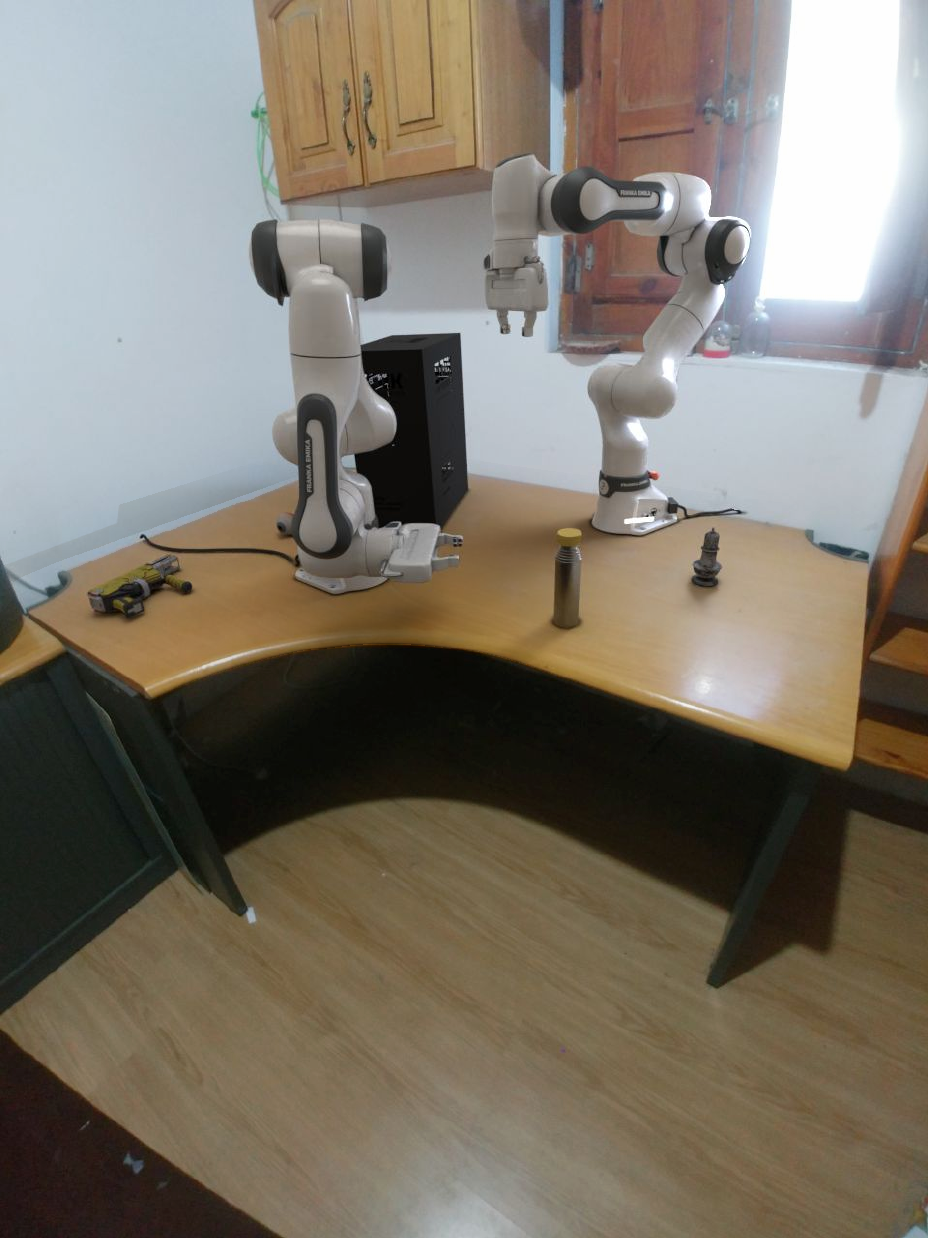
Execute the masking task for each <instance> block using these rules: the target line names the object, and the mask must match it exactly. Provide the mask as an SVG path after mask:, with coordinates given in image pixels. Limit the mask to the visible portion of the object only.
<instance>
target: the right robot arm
mask: <svg viewBox="0 0 928 1238" xmlns="http://www.w3.org/2000/svg"><path fill="white" fill-rule="evenodd" d="M711 200H712V194H711V189H710V186H709V185H708V183H707V182H706V181H705V180H704V179H703V178H701V177H698V176H695V175H692V174H689V173H682V172H675V171H673V172H672V171H660V172H659V171H658V172H651V173H646V174H641V175H640V176H637V177H635V178H633V179H632V180H624V179H623V180H621V179H613V178H610V177H609V176H607V175H606V174H604V173H603V172H601V171H600V170H599V169H596V168H594V167H592V166H585V165H584V166H579V167H577V168H575V169H573V170H569V171H568V172H566V173H565V172H564V173H562V174H559V175H558V174H556V173H554V172H552V171H551V170H549V169H547V168H546V167H545V166H543V165H542V163H540V161H539V160H538V159H537V157H536V156H535V153H531V152H525V153H520V154H517V155H513V156H509V157H507V158H504V159H501V160H500V161H499V162H497V164H496V165H495V167H494V170H493V174H492V183H491V216H492V220H493V227H494V228H493V235H492V248H491V249H490V250H489V252H488V253H487V254H486V255H485V256H484V257H483V258H482V269H483V271H485V273H484V297H485V304H486V306H487V307H486V308H487V309H488V310H492V311H496V318H497V321H498V323H499V324H498V325H499V333H500V335H510V334H511V324H509V318H508V316H509V312H523V318H524V323H523V326H522V327H521V336H522V337H523V338H531V337H533V335H534V326H535V324H536V320H537V318H538V316H537V315H538V314H537V313H540V312H546V311H547V310H548V308H549V307H548V306H549V303H550V297H549V296H550V295H549V279H548V278H549V277H548V273H547V269H546V268H545V263H544V262H543V260H542V258H541V256H539V236H542V237H546V238H547V237H549V238H550V237H557V236H558V237H560V236H566V235H567V236H568V235H585V234H586V235H587V234H589V233H592V232H594V231H595V230H597V229H598V228H600V227H602V226H603V225H605V224H606V223H608V222H623V224H624V226H625V227H626V230H628V232H629V233H631V234H634V235H639V236H645V237H658V242H657V248H656V259H657V264H658V267H659V269H660V270H661V271H662V272H663V273H664V274H666V275H669V276H672V277H682V279H681V283H680V285H679V287H678V289H677V291H676V292H675V294H674V295H673V296H672V297H671V298H670V300H669V301H668V302H667V303H666V305H665V306H664V307H663V308H662V310H661V311H660V313H659V314H658V315H657V316H656V318H655V319H654V320H653V322H652V323H651V324H650V326H649V327H647V330H646V331H645V332H644V335H643V337H642V345H643V350H644V351H643V353H642V356H641V358H640V359H639V360H638V361H637V363H635V364H625V363H619V362H615V363H614V362H613V363H607V364H604V365H601V366H597V368H595V369H594V371H593V372H591V374H590V376H589V378H588V380H587V395H588V398H589V399H590V401H591V402H592V404H593V406H594V408H595V411H596V414H597V417H598V418H597V419H598V421H599V427H600V432H601V440H602V447H601V448H602V449H601V450H602V451H601V468H600V470H599V474H598V492H599V493H598V498H597V502H596V507H595V511H594V514H593V517H592V520H591V525H592V526H593V527H594V528H595V529H597V530H599V531H601V532H605V533H611V534H623V535H625V534H626V535H632V536H633V535H634V536H645V535H646V534H650V533H652V532H654V531H657V530H660V529H662V528H665V527H668V526H670V525H672V524H675V523H677V522H678V516H677V515H676V514H678V509H681V510H682V511H683V515H684V517H685V518H687V519H693V518H696V517H698V516H704V515H705V516H706V515H720V514H721V515H722V514H725V513H729V512H736V513H738V514H743V511H742V510H740V509H739V510H734V509H732V508H733V507H731V508H726V509H723V510H712V511H701V512H697V513H693V514H688V510H687V508H686V507H685V506H683V505H682V504H679V502H677V501H676V499H675V498H673V497H672V496H669V497H667V496H666V495H665V494H664V493H663V492H661V491H660V490H659V489H658V488H656V487H655V486H654V485H652V483H651V480H653V481H658V479H659V478H660V473H659V472H657V471H654V470H651V471H649V470H648V469H647V466H648V458H649V457H648V455H649V446H650V441H649V437H648V435H647V434H646V432H645V431H644V429H643V427H642V424H641V420H656V419H662V418H664V417H666V416H667V415H669V413H670V412H671V411H672V410H673V408H674V406H675V405H676V402H677V399H678V395H679V389H678V388H679V387H678V383H677V377H678V373H679V371H680V368H681V366H682V365H683V363H684V361H685V359H686V358H687V357H688V355H689V354H690V353H691V352H692V350H693V348H694V347H695V346H696V345H697V343H698V342H699V340H701V338H702V337H703V336H704V335H705V333H706V331H707V330H708V328H709V327H710V325H711V324H712V322H713V321H714V319H715V318H716V316H717V315H718V313H719V311H720V309H721V307H722V305H723V303H724V300H725V288H724V285H725V284H727V283H729V282H730V281H732V280H733V279H734V278H735V275H736V274H737V271H738V270H739V269H740V268H741V267H742V265H743V263H744V262H745V260H746V258H747V256H748V254H749V252H750V249H751V243H752V231H751V228H750V225H749V224H748V223H747V222H746V221H745V220H743V219H741V218H738V217H736V216H724V217H710V215H709V210H710V207H711Z"/></svg>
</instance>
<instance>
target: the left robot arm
mask: <svg viewBox="0 0 928 1238" xmlns="http://www.w3.org/2000/svg"><path fill="white" fill-rule="evenodd" d="M248 260H249V264H250V269H251V270H252V273H253V276H254V278H255V281H256V283H257V285H258V287H260V289H262V291H263V292H264V293H265V294H266V295H267V296H269V297H271V298H273V299H275V300H276V301H277V304H278V305H279V306H280V307H284V302H285V298H289V302H288V323H287V324H288V325H287V326H288V346H289V347H288V348H289V349H288V350H289V359H290V367H291V377H292V385H293V387H292V388H293V394H294V395H293V396H294V403H295V404H294V405H295V407H293V408H290V409H287V410H285V411H283V412H280V413H278V414H277V415H276V417H275V419H274V421H273V423H272V429H271V436H272V442H273V444H274V446H275V449H276V450H277V452H278V454H279V455H280V456H281V457H282V458H283V459H284V460H286V461H287V462H288V463H291V464H292V465H295V466H296V467H297V470H298V471H297V475H298V501H297V505H296V508H295V511H294V513H293V514H294V516H293V518H292V522H291V532H292V534H291V536H292V539H293V540H294V542H295V545H296V550H297V551H296V552H297V554H296V555H295V556H294V560H293V559H292V558H291V557H290V556H289V555H288V554H286V553H284V552H282V551H278V550H273V549H268V548H267V549H266V548H265V549H264V548H253V547H223V548H222V547H221V548H220V547H217V548H181V547H172V546H171V547H169V546H163V545H160V544H157V543H155V542H152V541H151V540H150V539H149V538H148V537H147V536H146V534H144V533H141V534H140V536H139V539H141V540H145V541H146V543H147V544H148V545H149V546H152V547H154V548H157V549H161V550H167V551H171V552H172V551H173V552H184V553H185V552H187V553H188V552H189V553H190V552H191V553H194V552H195V553H205V552H206V553H210V552H211V553H212V552H256V553H268V554H273V555H274V554H275V555H278V556H282V557H284V558H285V559H286V560H287V561H289V562H290V563H294V562H295V563H294V566H295V567H299V566H300V565H301V566H300V567H299V568H298V569H297V570H296V572H295V573H294V578H295V579H296V580H298V581H300V582H302V583H305V584H307V585H310V586H313V587H315V588H316V589H319V590H322V591H323V592H324V591H325V592H327V593H329V594H332V595H339V594H343V593H347V592H353V591H363V590H366V589H370V588H374V587H376V586H378V585H380V584H383V583H384V582H386V581H387V580H388V579H390V580H391V581H393V582H395V583H404V584H405V583H408V584H425V583H428V582H431V580H432V577H433V573H434V572H441V571H443V570H446V569H449V568H458V567H459V566H460V555H459V554H449V555H448V556H444V557H439V556H438V554H439V551H440V547H445V546H453V548H461V547H463V544H464V536H463V535H461V534H460V535H459V534H458V535H457V534H456V535H453V534H449V533H446V532H441V529H440V526H439V525H436V524H431V523H409V524H404V525H401V522H391V523H389V524H388V525H386V526H385V527H383V528H379V524H378V518H377V515H376V514H375V510H374V502H373V494H372V487H371V485H370V483H369V481H368V480H367V479H366V478H365V477H364V476H363V475H361V474H359V473H357V472H356V471H353V470H350V469H345V468H344V465H343V462H342V458H344V457H347V456H354V454H358V453H363V452H368V451H372V450H375V449H377V448H380V447H382V446H384V445H386V444H388V443H390V442H391V441H392V440H393V438H394V436H395V433H396V427H397V421H396V416H395V413H394V411H393V409H392V407H391V406H390V404H389V403H388V402H387V401H386V400H385V399H383V398H382V397H380V396H379V395H378V394H376V393H375V392H374V391H373V389H372V388H371V387H370V385H369V383H368V382H367V379H366V374H364V370H363V365H362V355H361V345H362V344H361V327H360V312H359V304H358V299H361V298H362V299H363V302H368V301H369V300H373V299H376V298H380V297H381V296H382V295H383V294H384V293H385V292H386V291H387V290H388V285H389V283H390V280H391V278H392V274H393V256H392V252H391V248H390V246H389V243H388V241H387V236H386V234H385V233H384V232H383V231H382V229H381V228H380V227H377V226H375V225H372V224H369V223H365V222H361V224H358V223H357V224H356V223H352V222H347V221H342V220H335V219H327V218H326V219H325V218H319V219H293V220H282V221H278V219H277V218H276V219H268V220H263V221H260V222H257V223H256V224H255V226H254V227H253V229H252V230H251V236H250V240H249V245H248Z"/></svg>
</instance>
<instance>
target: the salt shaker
mask: <svg viewBox="0 0 928 1238" xmlns="http://www.w3.org/2000/svg"><path fill="white" fill-rule="evenodd" d="M719 543H720V533H719V532H717V531H716V528H715V527H712V528H711V530H709V531H706V532H705V533H704V537H703V543H702V545H701V547H700V549H701V553H700V558H699V559H696V560H694V561H692V566H693V571H694V575H692V577H691V581H692V582H693V583H694V584H697V585H699V586H705V587H709V586H710V587H711V586H715V585H717V584H718V583H719V579H718V578H717V577H716V576H718V574H719V573H720V572H721V570H722V569H723V565H722V563H720V562H719V561H717V557H718V552H719V551H720V547H719Z"/></svg>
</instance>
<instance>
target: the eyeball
mask: <svg viewBox="0 0 928 1238" xmlns="http://www.w3.org/2000/svg"><path fill="white" fill-rule="evenodd" d="M293 516H294V513H292V512H287V511H286V512H282V513H280V514H279V515H278V516H277V517H276V520H275V527H276V529H277V530H278V531H279V532H280V533H281V534H282V535H285V536H286V535H287V536H289V535H292V532H291V522H292V518H293Z"/></svg>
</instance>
